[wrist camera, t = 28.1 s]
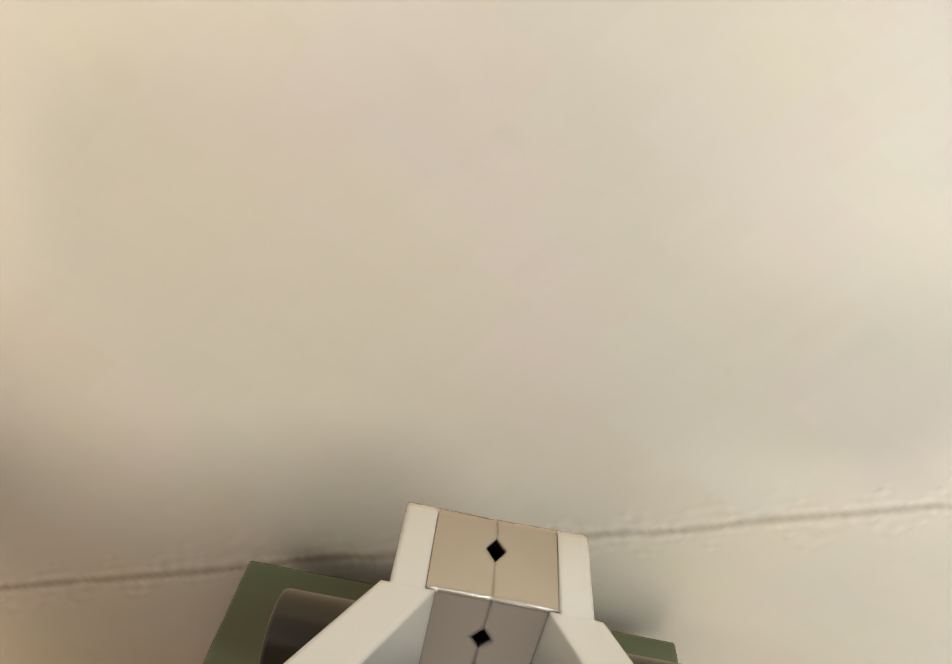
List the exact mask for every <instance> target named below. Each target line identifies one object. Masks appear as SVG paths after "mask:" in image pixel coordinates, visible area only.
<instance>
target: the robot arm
mask: <svg viewBox="0 0 952 664" xmlns="http://www.w3.org/2000/svg"><path fill="white" fill-rule="evenodd" d="M283 664H633V662H632V661H631V659H630V658H629V657H628V655H627V654H626V653H625V651H624V650H623V648H622V647H621V646H620V644H619V643H618V641H617V640H616V639H615V637H614V636H613V635H612V633H611V632H610V630H609V629H608V628H607V626H606V625H605V623H604V622H600V621H596V620H595V619H594V607H593V594H592V582H591V570H590V558H589V545H588V540H587V538H586V536H583V535H578V534H572V533H567V532H561V531H554V530H550V529H545V528H539V527H534V526H528V525H523V524H517V523H512V522H506V521H501V520H493V519H488V518H484V517H479V516H474V515H470V514H465V513H461V512H456V511H451V510H447V509H442V508H439V512H438V508H435V507H430V506H425V505H421V504H416V503H412V502H409V504H408V506H407V509H406V512H405V517H404V521H403V525H402V530H401V534H400V539H399V543H398V547H397V552H396V556H395V560H394V565H393V569H392V573H391V578H390V582H389V581H383V580H380V581H379V582H378V583H377V584H376V585H374V586H373V587H372V588H371V589H370V590H369V591H367V592H366V593H365V594H364V595H363V596H362V597H360V598H359V599H358V600H357V601H356V602H355V603H353V604H352V605H351V606H350V607H349V608H348V609H346V610H345V611H344V612H343V613H342V614H341V615H339V616H338V617H337V618H336V619H335V620H334V621H332V622H331V623H330V624H329V625H328V626H327V627H325V628H324V629H323V630H322V631H321V632H320V633H318V634H317V635H316V636H315V637H314V638H313V639H311V640H310V641H309V642H308V643H307V644H306V645H304V646H303V647H302V648H301V649H300V650H299V651H297V652H296V653H295V654H294V655H293V656H292V657H290V658H289V659H288V660H287V661H286V662H285V663H283Z"/></svg>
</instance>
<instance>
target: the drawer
mask: <svg viewBox="0 0 952 664" xmlns="http://www.w3.org/2000/svg"><path fill="white" fill-rule="evenodd" d="M373 586H374V585H373V584H367V583H362V582H357V581H352V580H347V579H342V578H337V577H331V576H326V575H321V574H316V573H311V572H306V571H301V570H295V569H290V568H285V567H280V566H275V565H270V564H265V563H259V562H254V561H251V562H250V563H249V564H248V566H247V569H246V571H245V573H244V575H243V577H242V579H241V582H240V584H239V586H238V588H237V590H236V592H235V595H234V597H233V599H232V601H231V603H230V605H229V608H228V610H227V612H226V614H225V616H224V618H223V621H222V623H221V625H220V627H219V629H218V631H217V634H216V636H215V638H214V640H213V642H212V644H211V646H210V649H209V651H208V653H207V655H206V657H205V659H204V662H203V664H283V663H285V662H286V661H287V660H288V659H289V658H290V657H292V656H293V655H294V654H295V653H296V652H297V651H299V650H300V649H301V648H302V647H303V646H304V645H306V644H307V643H308V642H309V641H310V640H311V639H313V638H314V637H315V636H316V635H317V634H318V633H320V632H321V631H322V630H323V629H324V628H325V627H327V626H328V625H329V624H330V623H331V622H332V621H334V620H335V619H336V618H337V617H338V616H339V615H341V614H342V613H343V612H344V611H345V610H346V609H348V608H349V607H350V606H351V605H352V604H353V603H355V602H356V601H357V600H358V599H359V598H360V597H362V596H363V595H364V594H365V593H366V592H367V591H369V590H370V589H371V588H372V587H373ZM610 632H611V633H612V635H613V636H614V637H615V639H616V640H617V641H618V643H619V644H620V646H621V647H622V648H623V650H624V651H625V653H626V654H627V655H628V657H629V658H630V659H631V661H632V662H633V664H680V663H678V660H677V655H676V649H675V645H674V644H673V643H671V642H666V641H660V640H655V639H650V638H645V637H640V636H635V635H630V634H624V633H619V632H614V631H610Z"/></svg>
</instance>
